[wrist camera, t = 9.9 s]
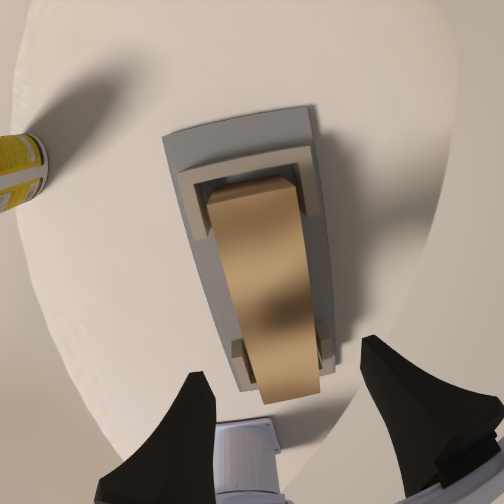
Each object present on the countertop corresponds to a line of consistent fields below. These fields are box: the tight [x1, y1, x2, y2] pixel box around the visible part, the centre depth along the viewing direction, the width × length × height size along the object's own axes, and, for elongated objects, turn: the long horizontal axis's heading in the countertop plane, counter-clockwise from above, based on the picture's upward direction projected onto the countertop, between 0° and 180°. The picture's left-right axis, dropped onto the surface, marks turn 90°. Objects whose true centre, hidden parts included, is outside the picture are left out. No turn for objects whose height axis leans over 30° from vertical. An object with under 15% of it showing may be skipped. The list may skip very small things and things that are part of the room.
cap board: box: [162, 107, 335, 392], centre depth 19 cm, size 22×9×3 cm, turn 11°
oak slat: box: [207, 174, 320, 405], centre depth 17 cm, size 14×4×5 cm, turn 12°
